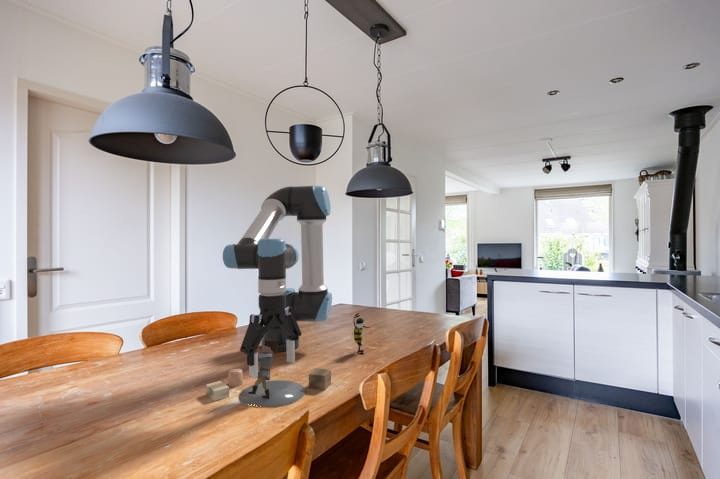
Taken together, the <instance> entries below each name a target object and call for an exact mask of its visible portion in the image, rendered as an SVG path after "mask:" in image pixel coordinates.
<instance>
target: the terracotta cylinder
mask: <svg viewBox="0 0 720 479" xmlns="http://www.w3.org/2000/svg"><path fill="white" fill-rule="evenodd" d="M227 376H228V379H227V380H228V382H227V383H228V385H227V386H228V387H230V386H231V388H236V386H237V387H240V385H241V386H242V385H243V384H244V383H243V380H244V379H243V377H244V376H243V369H242V368H233V369H230V370H228V375H227Z"/></svg>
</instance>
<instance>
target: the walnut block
mask: <svg viewBox="0 0 720 479" xmlns="http://www.w3.org/2000/svg"><path fill="white" fill-rule="evenodd" d="M331 384H332V369H326V368H324V369H323V368H314V369H313V370H312V371H311V372H309V373H308V389H309V390H310V389H311V390H318V391H326V390H327V389H328V388H329V387H330V386H331Z"/></svg>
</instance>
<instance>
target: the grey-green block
mask: <svg viewBox="0 0 720 479" xmlns="http://www.w3.org/2000/svg"><path fill="white" fill-rule="evenodd" d="M206 394H207V395H206ZM205 395H206V396H208V398H210V399H211V400H213V401H214V402H216V400H217V401H220V400H223V398H224V399H226V397H227V398H230V386H229V385H227V384H226V383H224V382H223V381H221V380H219V381H214V382H212V383H207V384H206V385H205ZM219 399H220V400H219Z"/></svg>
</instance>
